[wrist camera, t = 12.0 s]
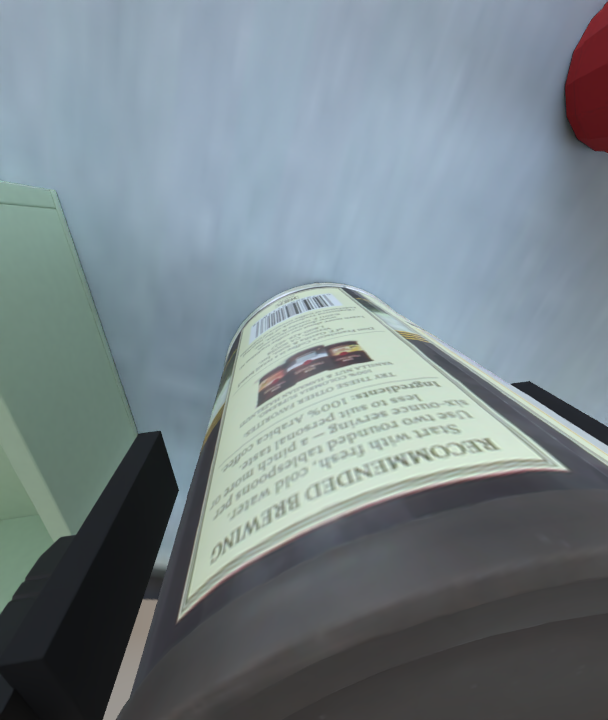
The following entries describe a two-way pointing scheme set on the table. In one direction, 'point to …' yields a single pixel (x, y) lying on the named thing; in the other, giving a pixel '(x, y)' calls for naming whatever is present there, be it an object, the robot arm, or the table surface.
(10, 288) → the bin
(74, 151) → the table surface
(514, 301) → the table surface
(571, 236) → the table surface
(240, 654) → the coffee can
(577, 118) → the plastic cup
